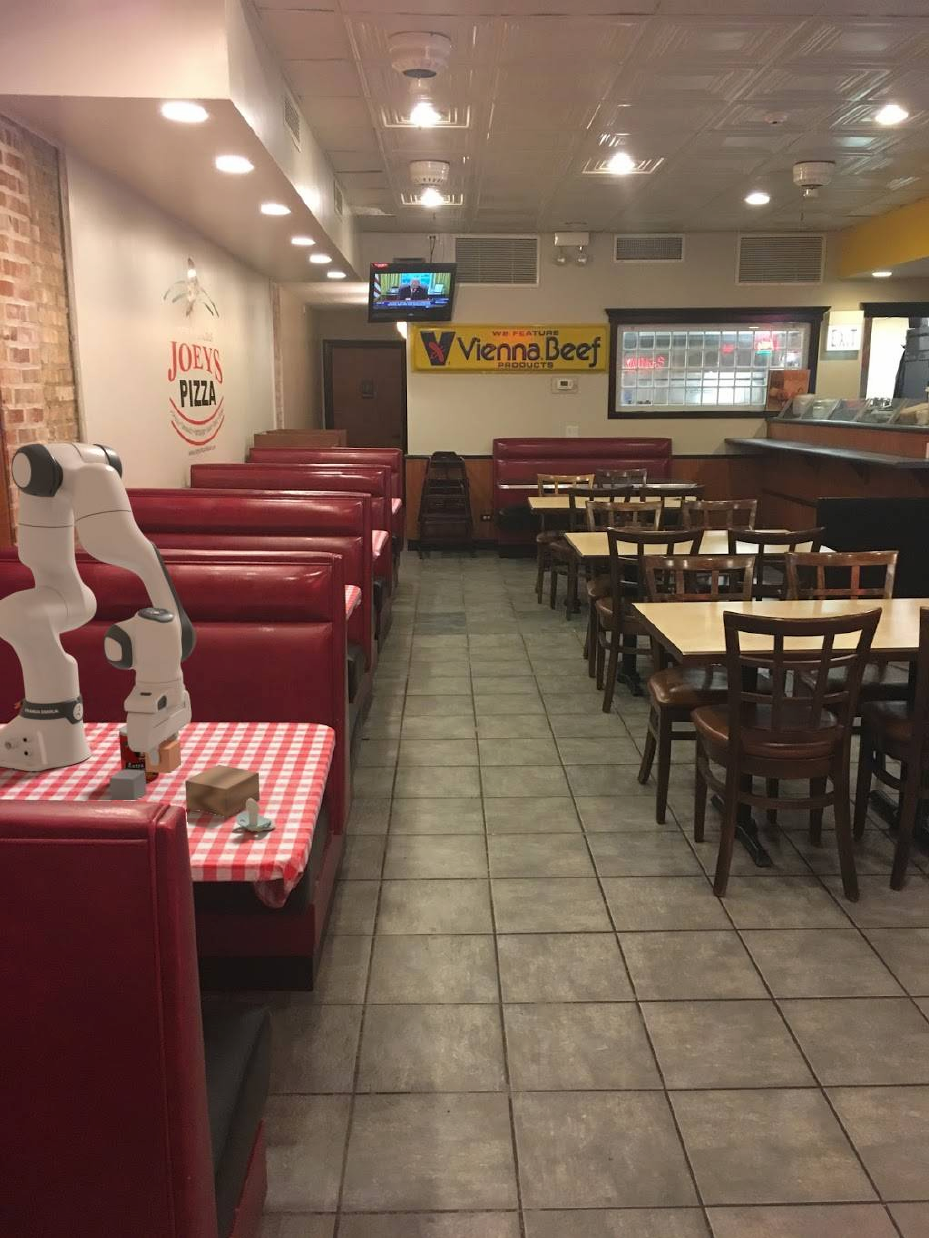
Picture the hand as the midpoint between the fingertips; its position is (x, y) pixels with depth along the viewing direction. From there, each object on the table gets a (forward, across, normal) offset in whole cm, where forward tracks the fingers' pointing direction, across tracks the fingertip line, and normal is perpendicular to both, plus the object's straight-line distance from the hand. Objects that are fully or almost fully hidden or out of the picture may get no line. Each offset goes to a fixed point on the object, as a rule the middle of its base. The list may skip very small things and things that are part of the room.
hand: (163, 758), depth 188 cm
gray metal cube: (+9, 0, -8) cm, 12 cm away
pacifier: (+9, +10, +23) cm, 26 cm away
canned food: (+9, -11, -11) cm, 18 cm away
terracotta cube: (+2, 0, 0) cm, 2 cm away
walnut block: (+9, 0, +12) cm, 15 cm away
